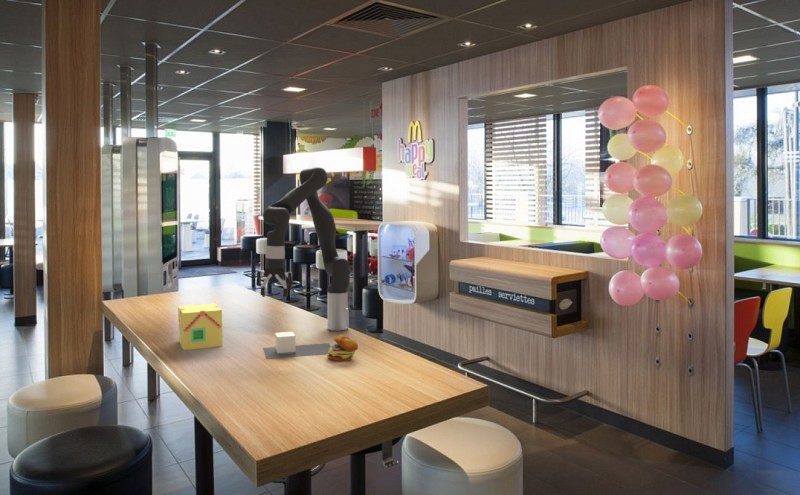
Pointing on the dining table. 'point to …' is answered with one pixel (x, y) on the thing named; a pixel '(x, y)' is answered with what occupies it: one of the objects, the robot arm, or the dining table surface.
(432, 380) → the dining table surface
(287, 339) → the cream cube
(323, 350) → the rubber mat
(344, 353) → the cheeseburger
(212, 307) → the toy block
